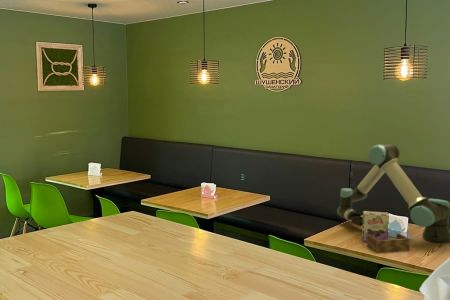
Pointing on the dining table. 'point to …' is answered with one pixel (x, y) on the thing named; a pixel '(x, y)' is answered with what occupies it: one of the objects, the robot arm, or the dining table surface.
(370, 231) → the candy box
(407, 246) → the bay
